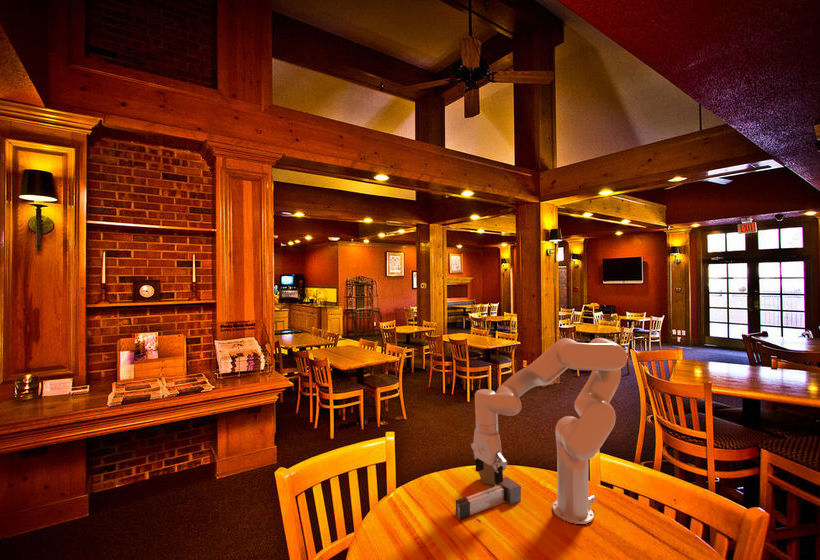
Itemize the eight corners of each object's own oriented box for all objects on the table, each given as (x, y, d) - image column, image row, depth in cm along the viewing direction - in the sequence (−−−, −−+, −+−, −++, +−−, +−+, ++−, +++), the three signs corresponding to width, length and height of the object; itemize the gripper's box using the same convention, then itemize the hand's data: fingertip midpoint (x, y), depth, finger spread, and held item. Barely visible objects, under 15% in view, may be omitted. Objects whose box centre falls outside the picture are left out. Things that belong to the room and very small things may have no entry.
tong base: (506, 491, 137) (506, 476, 137) (520, 501, 131) (520, 485, 131) (452, 512, 125) (452, 495, 125) (465, 523, 119) (465, 506, 119)
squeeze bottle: (501, 487, 140) (501, 439, 140) (480, 487, 140) (480, 439, 140) (497, 475, 148) (496, 430, 148) (476, 475, 148) (476, 430, 148)
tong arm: (501, 500, 131) (501, 487, 131) (504, 502, 129) (504, 489, 129) (457, 517, 122) (457, 503, 122) (460, 520, 120) (460, 505, 120)
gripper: (462, 421, 133) (464, 469, 133) (496, 438, 118) (498, 491, 118) (479, 416, 137) (481, 463, 137) (513, 432, 122) (515, 484, 122)
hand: (489, 476), depth 128 cm, fingers open, 9 cm apart
